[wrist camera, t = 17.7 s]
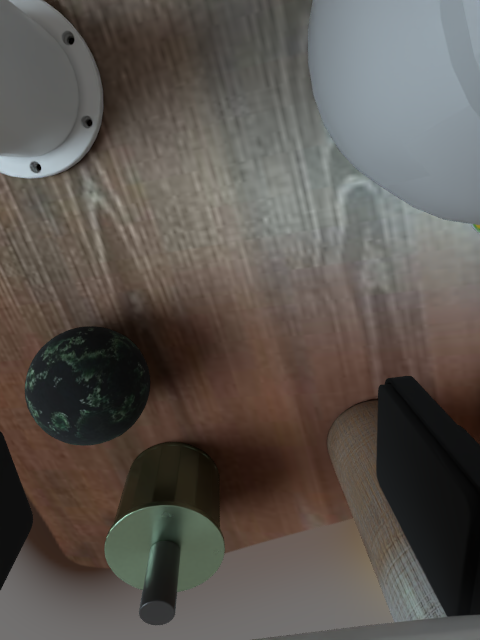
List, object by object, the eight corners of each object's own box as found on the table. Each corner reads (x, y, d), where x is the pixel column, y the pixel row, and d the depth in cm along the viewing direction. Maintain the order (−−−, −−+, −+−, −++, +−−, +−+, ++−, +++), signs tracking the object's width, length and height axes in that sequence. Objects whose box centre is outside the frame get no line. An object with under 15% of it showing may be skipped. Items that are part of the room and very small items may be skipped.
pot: (116, 499, 46) (96, 569, 38) (146, 430, 43) (130, 490, 35) (199, 523, 48) (196, 594, 40) (233, 458, 45) (236, 521, 37)
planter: (317, 470, 46) (449, 862, 20) (337, 394, 43) (526, 747, 17) (400, 477, 47) (627, 858, 21) (426, 403, 44) (735, 749, 18)
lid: (92, 566, 39) (69, 642, 33) (128, 481, 35) (110, 548, 29) (199, 592, 41) (196, 669, 35) (242, 514, 37) (247, 583, 31)
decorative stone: (41, 385, 40) (-12, 451, 31) (67, 295, 37) (17, 338, 28) (138, 415, 42) (117, 486, 33) (171, 331, 39) (157, 384, 30)
